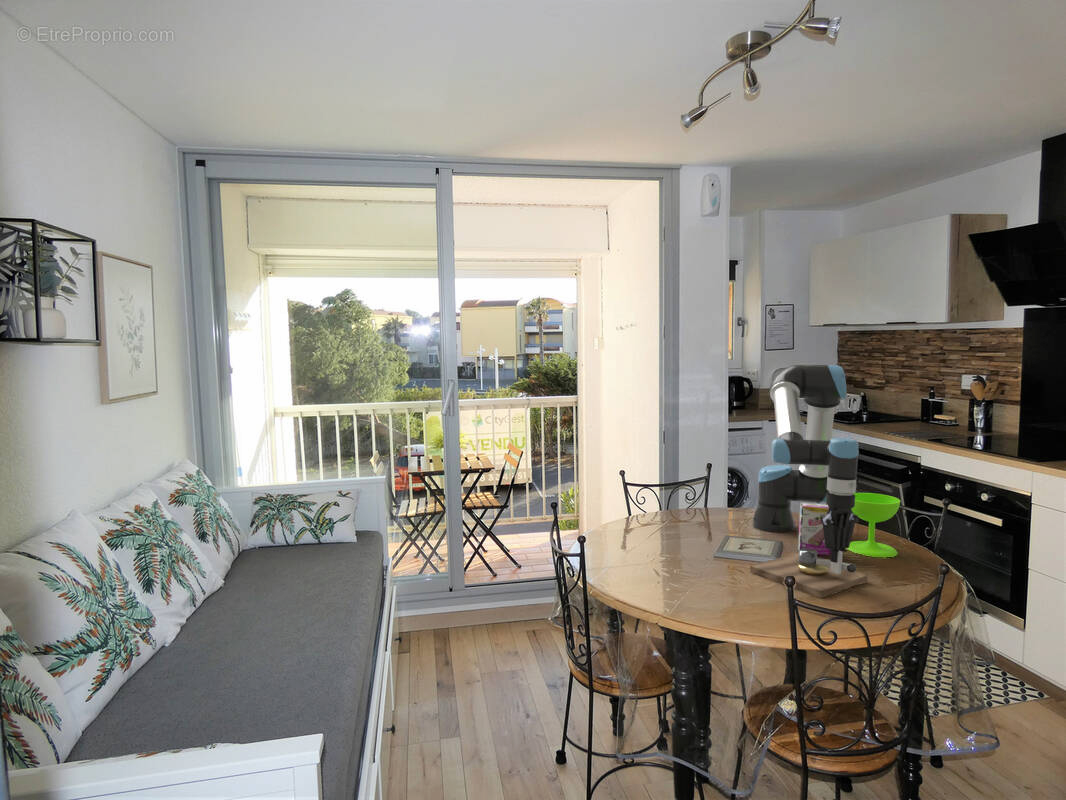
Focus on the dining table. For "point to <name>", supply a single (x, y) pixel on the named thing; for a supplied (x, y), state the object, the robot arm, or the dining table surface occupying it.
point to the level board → (807, 576)
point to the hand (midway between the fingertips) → (835, 572)
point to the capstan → (817, 563)
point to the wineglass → (874, 511)
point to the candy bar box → (812, 528)
